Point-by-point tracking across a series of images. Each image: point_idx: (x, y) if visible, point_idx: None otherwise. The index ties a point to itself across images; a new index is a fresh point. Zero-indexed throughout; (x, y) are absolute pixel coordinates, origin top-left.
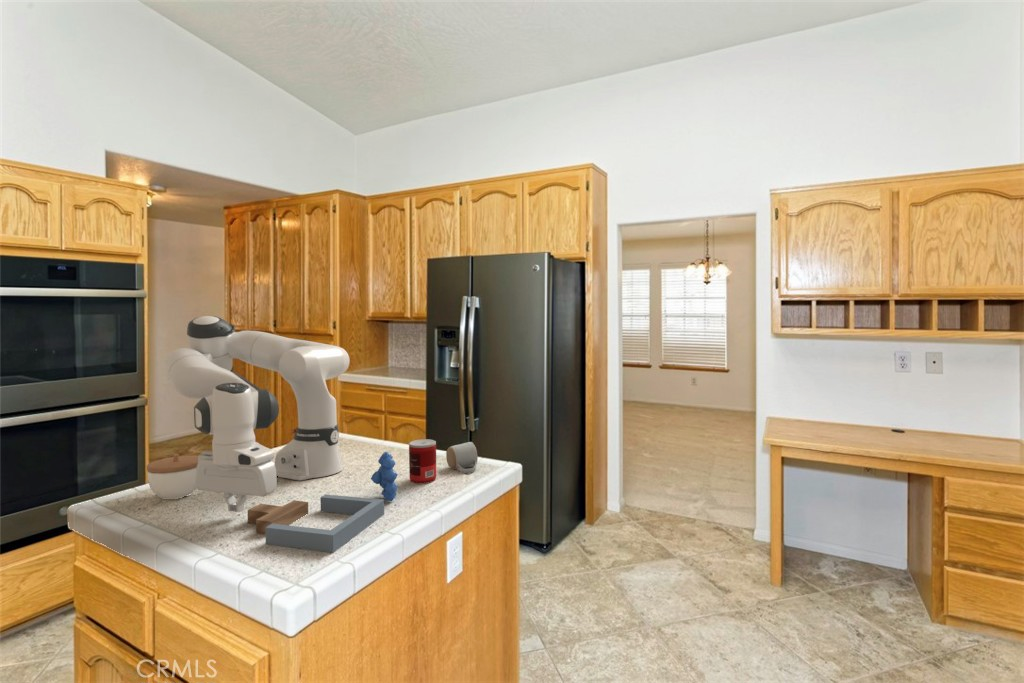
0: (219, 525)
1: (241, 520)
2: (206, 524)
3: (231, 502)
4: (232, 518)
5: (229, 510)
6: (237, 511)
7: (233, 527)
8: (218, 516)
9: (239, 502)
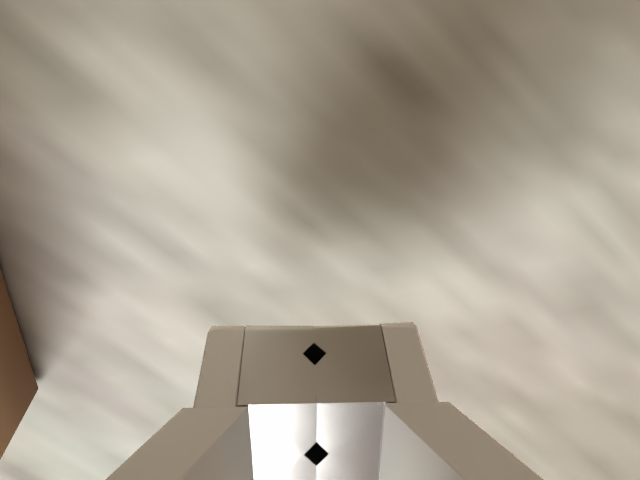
0: (331, 25)
1: (165, 247)
2: (578, 7)
3: (395, 451)
4: (346, 268)
5: (389, 325)
6: (223, 326)
7: (30, 12)
8: (587, 275)
9: (136, 456)
